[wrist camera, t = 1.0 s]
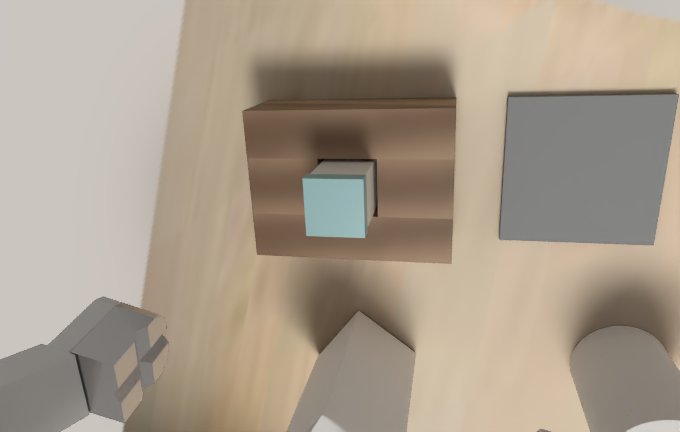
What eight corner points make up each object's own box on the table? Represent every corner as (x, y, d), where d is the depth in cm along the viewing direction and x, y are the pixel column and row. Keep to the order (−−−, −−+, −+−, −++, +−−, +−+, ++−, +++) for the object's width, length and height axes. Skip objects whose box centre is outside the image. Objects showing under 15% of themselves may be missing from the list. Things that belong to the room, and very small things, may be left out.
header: (451, 235, 46) (451, 263, 41) (279, 229, 50) (257, 254, 44) (456, 97, 43) (456, 108, 37) (268, 100, 46) (242, 111, 40)
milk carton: (373, 395, 54) (333, 572, 37) (318, 354, 54) (251, 513, 36) (416, 352, 51) (396, 521, 34) (358, 309, 51) (307, 457, 33)
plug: (384, 191, 46) (364, 238, 36) (338, 190, 47) (306, 235, 37) (384, 144, 45) (363, 179, 35) (336, 144, 46) (302, 178, 36)
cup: (553, 380, 49) (581, 483, 38) (598, 311, 46) (643, 401, 35) (636, 415, 49) (690, 530, 38) (688, 348, 46) (761, 451, 35)
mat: (651, 242, 43) (653, 245, 43) (499, 237, 46) (499, 239, 45) (675, 93, 39) (678, 94, 39) (507, 96, 42) (508, 97, 41)
